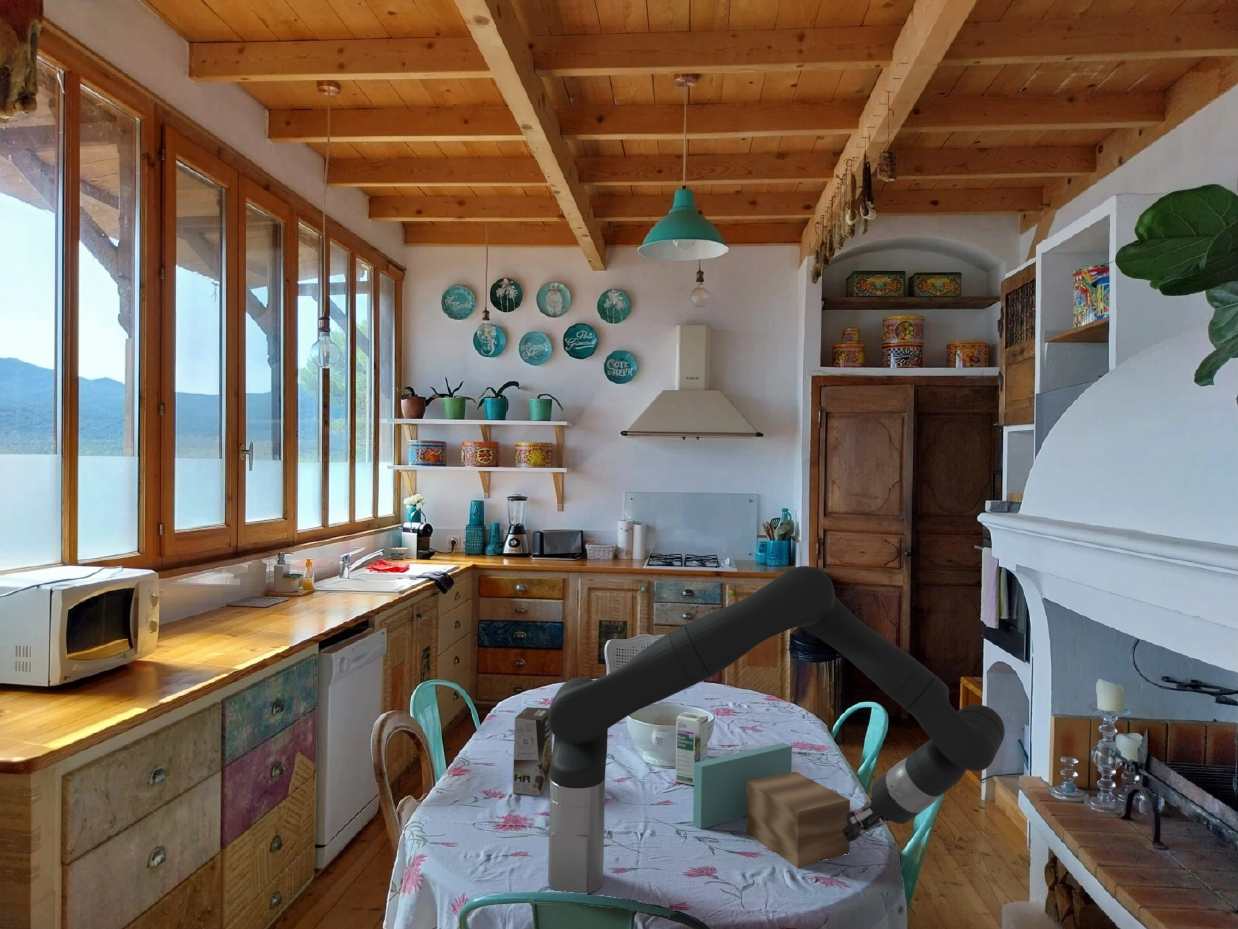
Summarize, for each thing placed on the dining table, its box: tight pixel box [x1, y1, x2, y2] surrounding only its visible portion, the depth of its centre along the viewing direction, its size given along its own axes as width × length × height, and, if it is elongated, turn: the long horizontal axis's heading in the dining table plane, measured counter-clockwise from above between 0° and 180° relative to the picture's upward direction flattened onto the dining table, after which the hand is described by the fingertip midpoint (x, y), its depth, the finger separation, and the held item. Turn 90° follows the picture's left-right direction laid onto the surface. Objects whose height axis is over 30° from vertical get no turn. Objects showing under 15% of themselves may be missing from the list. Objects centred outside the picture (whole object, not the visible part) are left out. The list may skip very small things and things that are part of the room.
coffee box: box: [512, 706, 554, 797], centre depth 169 cm, size 9×6×16 cm
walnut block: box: [745, 771, 851, 869], centre depth 145 cm, size 15×12×10 cm
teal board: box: [692, 742, 793, 830], centre depth 158 cm, size 2×24×12 cm, turn 122°
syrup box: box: [674, 711, 709, 786], centre depth 175 cm, size 6×6×14 cm
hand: (847, 835), depth 135 cm, fingers closed
